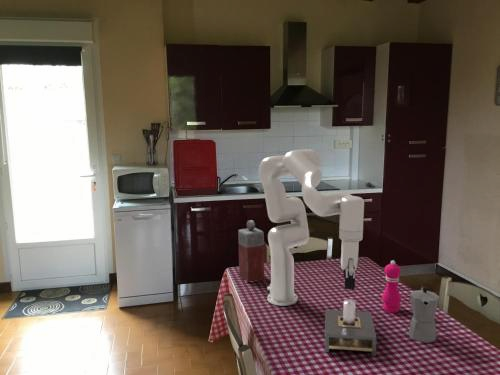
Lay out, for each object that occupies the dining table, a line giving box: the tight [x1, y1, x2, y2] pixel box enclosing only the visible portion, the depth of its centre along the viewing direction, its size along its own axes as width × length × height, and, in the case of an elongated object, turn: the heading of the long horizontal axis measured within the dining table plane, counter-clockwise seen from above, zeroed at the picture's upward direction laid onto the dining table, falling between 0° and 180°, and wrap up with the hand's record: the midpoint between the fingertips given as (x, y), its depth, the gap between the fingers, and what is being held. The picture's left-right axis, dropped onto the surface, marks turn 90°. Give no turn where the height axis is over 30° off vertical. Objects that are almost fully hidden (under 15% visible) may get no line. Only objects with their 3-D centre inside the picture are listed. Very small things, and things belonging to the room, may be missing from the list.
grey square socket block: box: [324, 308, 377, 357], centre depth 152 cm, size 18×16×7 cm
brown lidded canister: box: [237, 219, 268, 282], centre depth 207 cm, size 9×11×28 cm
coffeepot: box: [407, 285, 440, 344], centre depth 154 cm, size 15×9×18 cm, turn 163°
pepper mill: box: [381, 260, 402, 314], centre depth 173 cm, size 7×7×20 cm
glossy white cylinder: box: [342, 298, 356, 326], centre depth 151 cm, size 4×4×14 cm
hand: (348, 282), depth 149 cm, fingers open, 9 cm apart
